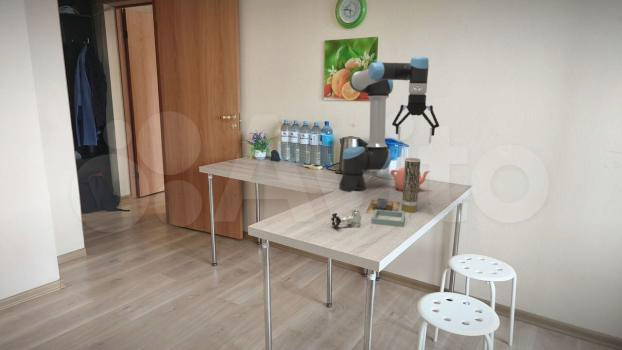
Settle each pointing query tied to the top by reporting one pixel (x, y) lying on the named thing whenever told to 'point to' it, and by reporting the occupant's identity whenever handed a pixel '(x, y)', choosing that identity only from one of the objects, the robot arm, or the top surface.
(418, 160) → the log cylinder
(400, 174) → the teapot
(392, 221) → the tray
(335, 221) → the valve
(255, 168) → the top surface
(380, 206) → the block
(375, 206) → the walnut plate
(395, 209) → the board
